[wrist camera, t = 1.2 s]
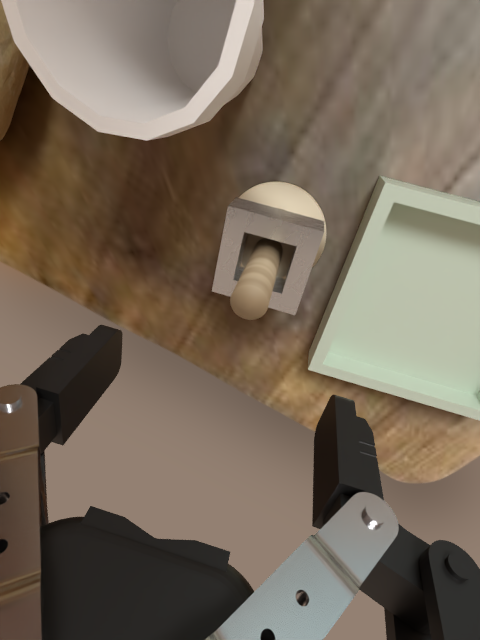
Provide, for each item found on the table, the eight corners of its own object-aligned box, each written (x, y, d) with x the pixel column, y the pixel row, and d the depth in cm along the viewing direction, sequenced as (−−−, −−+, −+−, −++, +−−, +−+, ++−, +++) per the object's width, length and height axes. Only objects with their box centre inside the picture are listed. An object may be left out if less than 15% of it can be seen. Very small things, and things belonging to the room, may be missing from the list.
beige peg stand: (237, 169, 27) (184, 205, 16) (341, 197, 26) (354, 252, 16) (218, 265, 31) (167, 342, 21) (307, 291, 30) (300, 381, 20)
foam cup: (124, 68, 25) (-33, 35, 14) (186, -101, 20) (22, -358, 9) (236, 154, 26) (174, 187, 15) (319, 15, 21) (317, -85, 10)
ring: (236, 197, 24) (227, 205, 22) (324, 221, 23) (324, 232, 21) (220, 277, 27) (211, 291, 25) (297, 298, 27) (295, 315, 24)
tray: (379, 175, 25) (385, 182, 23) (611, 236, 24) (641, 249, 22) (308, 351, 33) (307, 369, 31) (478, 401, 33) (489, 423, 30)
